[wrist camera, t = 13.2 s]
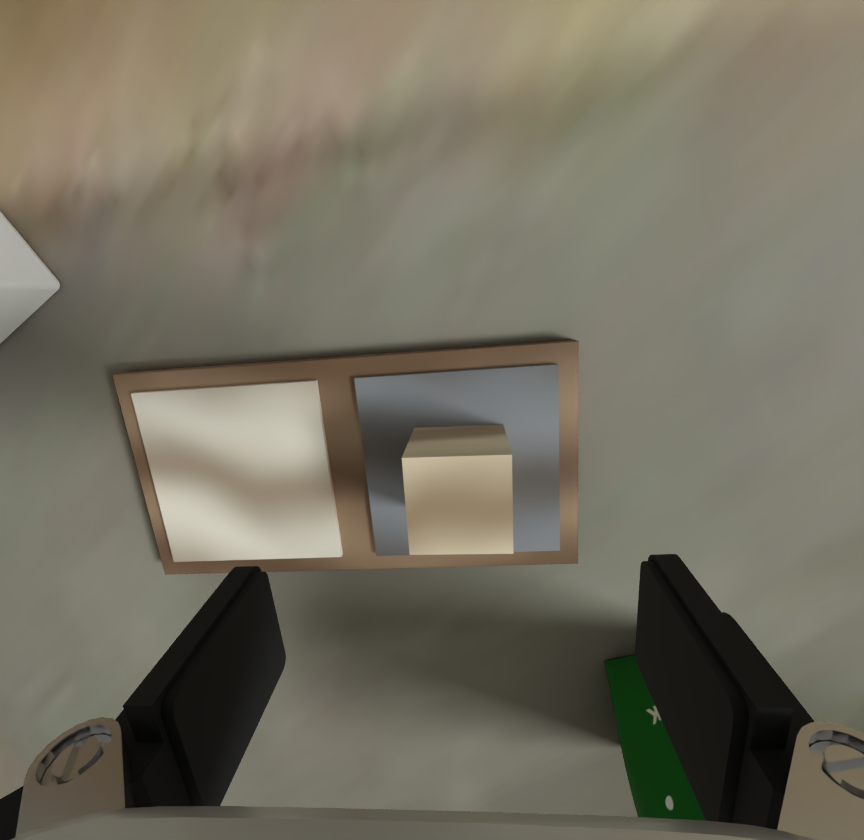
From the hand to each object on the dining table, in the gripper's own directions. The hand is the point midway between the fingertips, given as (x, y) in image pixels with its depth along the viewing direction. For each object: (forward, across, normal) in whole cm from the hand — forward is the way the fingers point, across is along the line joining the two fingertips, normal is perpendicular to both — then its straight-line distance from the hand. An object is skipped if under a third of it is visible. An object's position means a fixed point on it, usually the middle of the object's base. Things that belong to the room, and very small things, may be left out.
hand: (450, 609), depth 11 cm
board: (+14, +6, +2) cm, 15 cm away
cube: (+12, 0, +2) cm, 12 cm away
